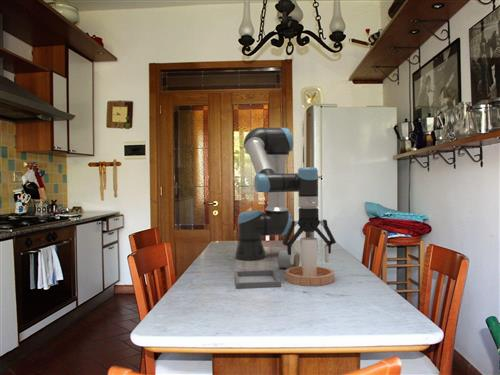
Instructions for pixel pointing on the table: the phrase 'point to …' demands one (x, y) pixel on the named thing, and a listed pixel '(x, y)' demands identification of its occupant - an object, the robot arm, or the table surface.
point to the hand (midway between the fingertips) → (309, 262)
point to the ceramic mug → (288, 259)
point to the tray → (257, 284)
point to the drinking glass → (309, 256)
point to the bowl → (296, 277)
